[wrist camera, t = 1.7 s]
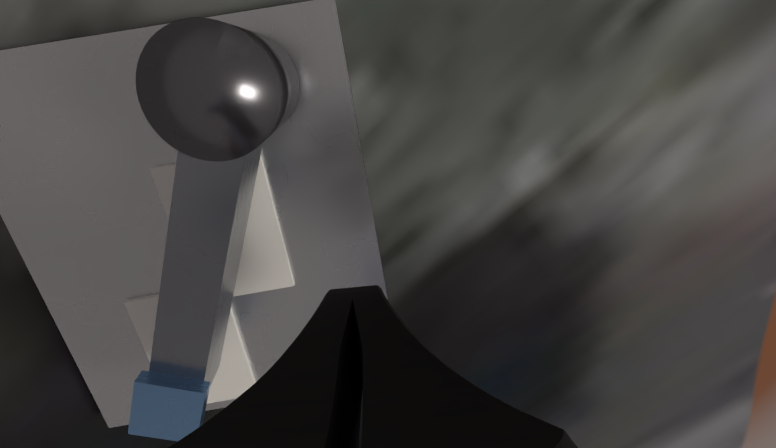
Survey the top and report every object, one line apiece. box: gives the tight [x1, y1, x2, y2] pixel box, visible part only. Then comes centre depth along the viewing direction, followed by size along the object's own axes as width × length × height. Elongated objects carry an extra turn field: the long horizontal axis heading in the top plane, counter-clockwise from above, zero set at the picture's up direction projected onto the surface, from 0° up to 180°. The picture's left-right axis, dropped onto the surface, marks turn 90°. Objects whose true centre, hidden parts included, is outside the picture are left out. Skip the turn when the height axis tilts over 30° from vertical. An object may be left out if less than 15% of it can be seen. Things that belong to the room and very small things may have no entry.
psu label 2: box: [124, 294, 256, 404], centre depth 16 cm, size 5×4×1 cm
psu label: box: [150, 155, 295, 296], centre depth 15 cm, size 5×4×1 cm
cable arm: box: [128, 17, 299, 441], centre depth 13 cm, size 12×3×4 cm, turn 164°
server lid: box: [0, 0, 388, 428], centre depth 15 cm, size 14×12×1 cm
